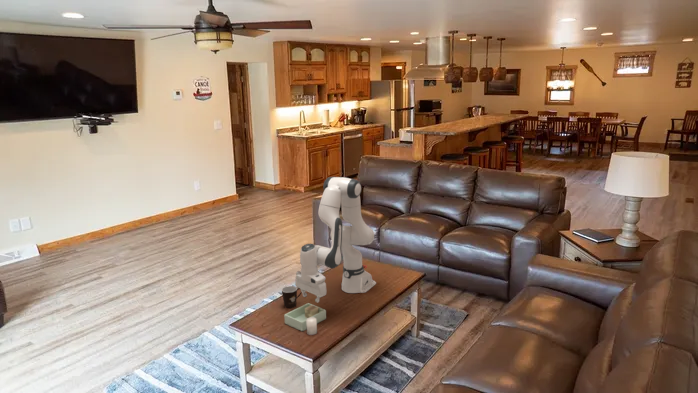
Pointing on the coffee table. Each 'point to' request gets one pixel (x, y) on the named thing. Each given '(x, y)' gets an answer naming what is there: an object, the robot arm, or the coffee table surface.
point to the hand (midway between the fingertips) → (311, 299)
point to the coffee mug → (290, 296)
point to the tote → (302, 317)
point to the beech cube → (311, 311)
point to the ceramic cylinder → (311, 326)
